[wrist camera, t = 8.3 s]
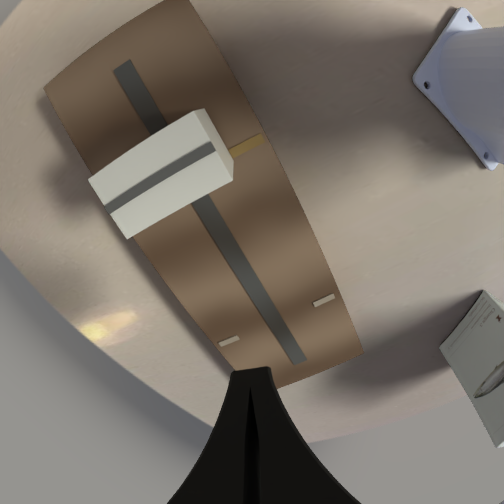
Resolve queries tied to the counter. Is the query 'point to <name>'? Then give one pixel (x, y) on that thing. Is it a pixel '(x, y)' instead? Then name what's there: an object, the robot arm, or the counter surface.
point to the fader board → (212, 197)
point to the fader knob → (164, 173)
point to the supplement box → (481, 361)
